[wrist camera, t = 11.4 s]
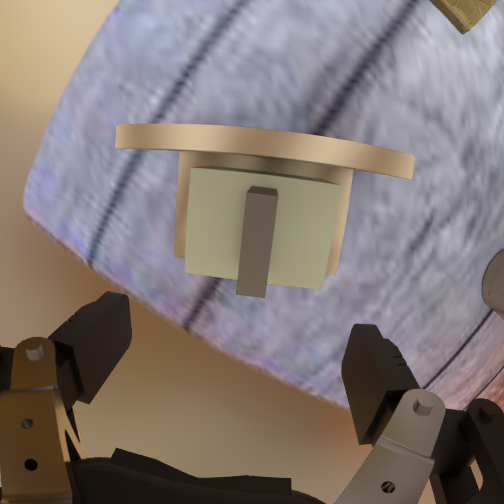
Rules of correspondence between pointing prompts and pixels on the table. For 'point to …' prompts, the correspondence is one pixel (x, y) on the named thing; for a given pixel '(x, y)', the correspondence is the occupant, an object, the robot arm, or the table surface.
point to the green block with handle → (259, 227)
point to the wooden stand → (264, 162)
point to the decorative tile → (464, 11)
